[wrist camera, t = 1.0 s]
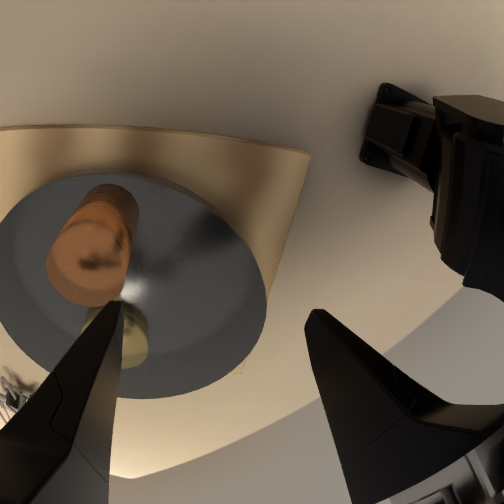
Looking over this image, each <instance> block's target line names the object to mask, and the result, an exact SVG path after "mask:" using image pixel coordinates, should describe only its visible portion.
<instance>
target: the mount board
mask: <svg viewBox="0 0 504 504" xmlns="http://www.w3.org/2000/svg"><path fill="white" fill-rule="evenodd" d="M310 159H311V155H310V154H309V153H307V152H306V151H303V150H298V149H294V148H289V147H284V146H279V145H274V144H269V143H263V142H258V141H252V140H246V139H240V138H234V137H227V136H220V135H213V134H206V133H198V132H189V131H180V130H171V129H160V128H148V127H133V126H113V125H36V126H18V127H5V128H0V223H1V221H2V220H3V219H4V218H5V216H6V215H7V214H8V212H9V211H10V210H11V209H12V208H13V207H14V206H15V205H16V204H17V203H18V202H19V201H20V200H21V199H22V198H23V197H24V196H25V195H27V194H28V193H29V192H30V191H31V190H33V189H34V188H36V187H37V186H39V185H41V184H43V183H45V182H46V181H48V180H50V179H52V178H55V177H58V176H61V175H64V174H67V173H69V172H75V171H80V170H86V169H93V168H118V169H126V170H133V171H140V172H144V173H147V174H151V175H154V176H158V177H162V178H164V179H167V180H169V181H171V182H174V183H176V184H178V185H181V186H183V187H185V188H187V189H189V190H190V191H192V192H194V193H195V194H197V195H199V196H200V197H202V198H204V199H205V200H207V201H208V202H209V203H211V204H212V205H213V206H214V207H216V208H217V209H218V210H219V211H221V212H222V213H223V214H224V215H225V216H226V217H227V218H228V219H229V220H230V221H231V222H232V223H233V224H234V226H235V227H236V228H237V229H238V230H239V231H240V233H241V234H242V236H243V237H244V239H245V240H246V242H247V243H248V244H249V246H250V248H251V250H252V253H253V255H254V257H255V259H256V261H257V264H258V266H259V269H260V272H261V275H262V278H263V282H264V285H265V289H266V299H267V298H268V295H269V292H270V289H271V286H272V283H273V280H274V276H275V273H276V270H277V267H278V264H279V261H280V258H281V255H282V251H283V248H284V245H285V242H286V239H287V236H288V232H289V229H290V226H291V223H292V219H293V216H294V213H295V210H296V206H297V203H298V200H299V197H300V193H301V190H302V187H303V183H304V180H305V176H306V173H307V170H308V166H309V163H310ZM247 357H248V356H247ZM247 357H246V358H245V359H244V360H243V362H242V363H241V364H239V365H238V366H237V367H236V368H235V369H234V370H233V371H231V372H230V373H228V374H227V375H235V374H242V371H243V368H244V366H245V363H246V360H247Z"/></svg>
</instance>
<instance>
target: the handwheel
mask: <svg viewBox="0 0 504 504" xmlns="http://www.w3.org/2000/svg"><path fill="white" fill-rule="evenodd" d="M110 300H114V301H121V302H122V304H123V315H124V331H123V347H122V365H121V373H120V380H119V386H118V393H117V397H121V398H130V399H155V398H164V397H172V396H176V395H181V394H185V393H188V392H192V391H195V390H198V389H200V388H203V387H205V386H208V385H210V384H212V383H214V382H215V381H217V380H219V379H221V378H222V377H224V376H225V375H227V374H228V373H230V372H231V371H233V370H234V369H235V368H236V367H237V366H238V365H239V364H241V363H242V362H243V360H244V359H245V358H246V357H247V356H248V355H249V354H250V352H251V351H252V349H253V348H254V346H255V345H256V343H257V341H258V339H259V337H260V335H261V332H262V330H263V326H264V322H265V319H266V309H267V299H266V289H265V285H264V282H263V278H262V275H261V272H260V269H259V266H258V264H257V261H256V259H255V257H254V255H253V253H252V250H251V248H250V246H249V244H248V243H247V242H246V240H245V239H244V237H243V236H242V234H241V233H240V231H239V230H238V229H237V228H236V227H235V226H234V224H233V223H232V222H231V221H230V220H229V219H228V218H227V217H226V216H225V215H224V214H223V213H222V212H221V211H219V210H218V209H217V208H216V207H214V206H213V205H212V204H211V203H209V202H208V201H207V200H205V199H204V198H202V197H200V196H199V195H197V194H195V193H194V192H192V191H190V190H189V189H187V188H185V187H183V186H181V185H178V184H176V183H174V182H171V181H169V180H167V179H164V178H162V177H158V176H154V175H151V174H147V173H144V172H140V171H133V170H126V169H118V168H93V169H86V170H80V171H75V172H69V173H67V174H64V175H61V176H58V177H55V178H52V179H50V180H48V181H46V182H45V183H43V184H41V185H39V186H37V187H36V188H34V189H33V190H31V191H30V192H29V193H28V194H27V195H25V196H24V197H23V198H22V199H21V200H20V201H19V202H18V203H17V204H16V205H15V206H14V207H13V208H12V209H11V210H10V211H9V212H8V214H7V215H6V216H5V218H4V219H3V220H2V221H1V223H0V322H1V323H2V325H3V326H4V328H5V330H6V331H7V333H8V334H9V335H10V337H11V338H12V339H13V341H14V342H15V343H16V344H17V345H18V346H19V347H20V349H21V350H22V351H23V352H24V353H25V354H26V355H27V356H29V357H30V358H31V359H32V360H33V361H35V362H36V363H37V364H38V365H40V366H41V367H42V368H44V369H45V370H47V371H48V372H50V373H51V371H53V369H54V368H55V366H56V365H57V364H58V362H59V361H60V360H61V358H62V357H63V356H64V355H65V353H66V352H67V351H68V350H69V348H70V347H71V346H72V345H73V343H74V342H75V341H76V340H77V338H78V337H79V336H80V335H81V334H82V332H83V331H84V330H85V329H86V327H87V326H88V325H89V324H90V323H91V321H92V320H93V319H94V318H95V317H96V316H97V314H98V313H99V312H100V311H101V310H102V308H103V307H104V306H105V305H106V304H107V303H108V302H109V301H110Z"/></svg>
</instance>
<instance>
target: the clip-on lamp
mask: <svg viewBox="0 0 504 504" xmlns="http://www.w3.org/2000/svg"><path fill="white" fill-rule="evenodd" d="M3 381H4V383H5V384H6V386H7V388H5V386H4V384H3ZM0 382H1V386H2V389H3V390H4V391H7V393H6V396H5V395H3V394H0V406H1V408H4V404H3V403H4V402H6V405H7V406H8V407H9V408H10V409H12V410H13V411H14V412H15V413H17V411H18V410H19V409H20V408H21V407H22V406H23V405H24V404H25V402H26V399H28V400H29V398H30V397H31V396H32V395H31V394H30V395H25V394H22V393H19V392H17V391H16V390H14V389H12V388H11V387H10V385H9V384H8V382H7V380H6V379H5V378H4V377H3V376H2V377H1V378H0ZM2 401H3V402H2ZM4 410H5V411H6V409H5V408H4ZM6 413H7V411H6ZM0 415H1V417H2V419H3V420H4V422H5V423H6V424H7V422H6V420H5V419H4V417H3V416H2V414H1V412H0ZM7 415H8V413H7ZM8 418H9V420H10V417H9V415H8Z"/></svg>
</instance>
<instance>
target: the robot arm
mask: <svg viewBox="0 0 504 504" xmlns="http://www.w3.org/2000/svg"><path fill="white" fill-rule="evenodd" d="M387 87H388V92H387V91H386V88H387ZM367 155H368V158H367V159H366V160H365V157H366V156H367ZM360 160H361V162H363V163H364V164H366V165H370V166H373V167H377V168H380V169H383V170H387V171H390V172H393V173H396V174H399V175H402V176H405V177H408V178H411V179H412V180H414V181H415V182H417V183H419V184H420V185H422V186H423V187H425V188H426V189H428V190H429V191H431V192H432V193H434V200H433V211H432V216H431V217H430V225H431V227H432V229H433V231H434V242H435V244H436V246H437V248H438V250H439V252H440V253H441V260H442V261H443V262H444V263H445V264H446V265H447V266H448V267H449V268H451V269H452V270H454V271H455V272H457V273H458V274H460V275H462V276H464V279H463V282H462V284H463V286H465V287H470V288H475V289H480V290H482V291H485V292H487V293H490V294H492V295H494V296H495V297H497V298H499V299H500V300H501V301H503V302H504V102H503V101H499V100H496V99H492V98H488V97H484V96H480V95H454V96H434V97H433V106H432V105H430V104H428V103H427V102H425V101H423V100H421V99H419V98H418V97H416V96H414V95H412V94H410V93H408V92H406V91H404V90H403V89H401V88H399V87H397V86H395V85H393V84H390V83H383V84H381V87H380V90H379V94H378V97H377V101H376V104H375V106H374V109H373V112H372V115H371V119H370V122H369V125H368V129H367V132H366V138H365V141H364V144H363V147H362V150H361V153H360ZM123 331H124V315H123V304H122V302H121V301H114V300H110V301H109V302H108V303H107V304H106V305H105V306H104V307H103V308H102V310H101V311H100V312H99V313H98V314H97V316H96V317H95V318H94V319H93V320H92V321H91V323H90V324H89V325H88V326H87V327H86V329H85V330H84V331H83V332H82V334H81V335H80V336H79V337H78V338H77V340H76V341H75V342H74V343H73V345H72V346H71V347H70V348H69V350H68V351H67V352H66V353H65V355H64V356H63V357H62V358H61V360H60V361H59V362H58V364H57V365H56V366H55V368H54V369H53V371H51V373H50V374H49V375H48V377H47V378H46V379H45V380H44V382H43V383H42V384H41V385H40V387H39V388H38V389H37V391H36V392H35V393H34V394H33V395H32V396H31V397H30V398H29V400H28V401H27V402H26V403H25V404H24V405H23V406H22V407H21V408H20V409H19V410H18V411H17V413H16V414H15V415H14V416H13V417H12V418H11V419H10V420H9V421H8V422H7V424H6V425H5V426H4V427H3V428H2V429H1V430H0V504H108V493H109V485H108V484H109V471H110V456H111V444H112V434H113V424H114V416H115V408H116V400H117V393H118V386H119V380H120V373H121V365H122V347H123ZM304 331H305V336H306V341H307V347H308V352H309V357H310V362H311V366H312V370H313V373H314V377H315V380H316V383H317V386H318V390H319V393H320V396H321V399H322V403H323V406H324V409H325V412H326V416H327V419H328V422H329V425H330V429H331V432H332V436H333V439H334V442H335V445H336V449H337V453H338V456H339V459H340V463H341V464H342V465H341V467H342V470H343V474H344V477H345V481H346V484H347V488H348V491H349V495H350V498H351V501H352V504H376V503H378V502H380V501H383V500H385V499H387V498H390V501H391V503H392V504H504V404H499V405H459V404H452V403H449V402H446V401H444V400H443V399H441V398H440V397H438V396H437V395H435V394H434V393H432V392H430V391H429V390H428V389H426V388H425V387H423V386H422V385H420V384H419V383H417V382H416V381H414V380H413V379H411V378H410V377H409V376H408V375H406V374H405V373H403V372H402V371H401V370H400V369H398V368H397V367H396V366H395V365H393V364H392V363H391V362H390V361H388V360H387V359H386V358H385V357H383V356H382V355H381V354H380V353H378V352H377V351H376V350H375V349H373V348H372V347H371V346H370V345H368V344H367V343H366V342H365V341H363V340H362V339H361V338H360V337H358V336H357V335H356V334H355V333H353V332H352V331H351V330H350V329H348V328H347V327H346V326H345V325H343V324H342V323H341V322H340V321H338V320H337V319H336V318H334V317H333V316H332V315H331V314H329V313H328V312H327V311H326V310H324V309H313V310H312V311H311V313H310V315H309V317H308V319H307V321H306V324H305V327H304Z"/></svg>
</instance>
